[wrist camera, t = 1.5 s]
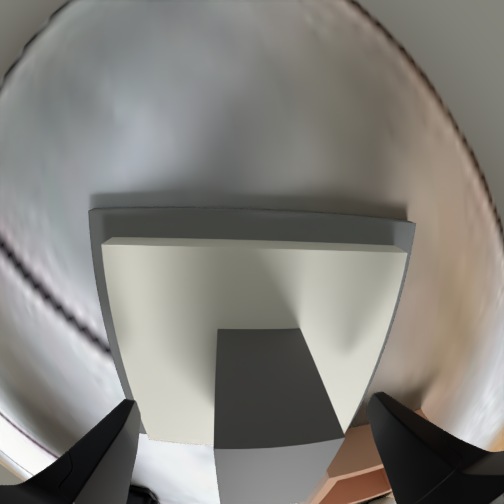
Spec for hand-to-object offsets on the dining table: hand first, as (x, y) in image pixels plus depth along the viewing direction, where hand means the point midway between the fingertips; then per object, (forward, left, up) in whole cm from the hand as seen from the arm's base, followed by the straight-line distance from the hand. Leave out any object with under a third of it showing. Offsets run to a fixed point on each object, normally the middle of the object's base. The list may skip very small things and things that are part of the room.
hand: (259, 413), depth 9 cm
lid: (0, 0, -3) cm, 3 cm away
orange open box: (+9, -12, -4) cm, 15 cm away
